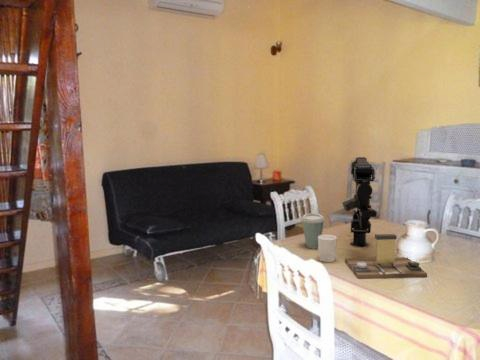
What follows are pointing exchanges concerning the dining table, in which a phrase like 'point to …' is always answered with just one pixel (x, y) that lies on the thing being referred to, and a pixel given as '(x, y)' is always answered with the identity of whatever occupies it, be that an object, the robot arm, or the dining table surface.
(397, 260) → the control panel
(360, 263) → the grey push button
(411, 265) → the black rocker switch
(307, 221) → the disposable coffee cup
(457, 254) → the dining table surface
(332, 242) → the white cup
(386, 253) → the yellow upright block
